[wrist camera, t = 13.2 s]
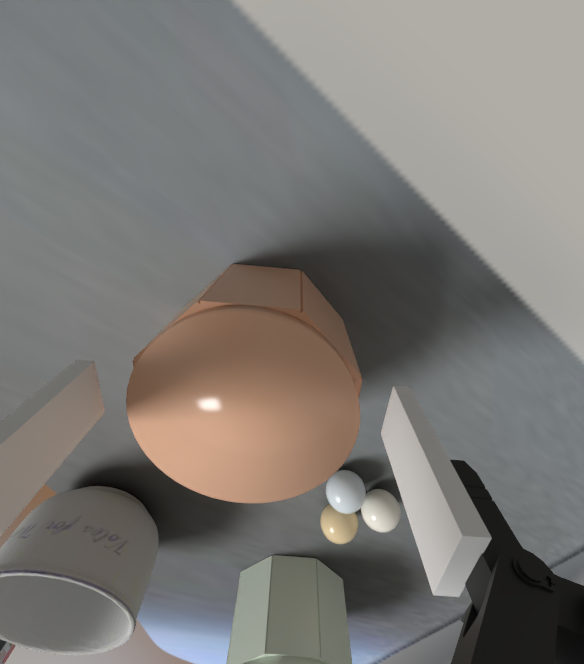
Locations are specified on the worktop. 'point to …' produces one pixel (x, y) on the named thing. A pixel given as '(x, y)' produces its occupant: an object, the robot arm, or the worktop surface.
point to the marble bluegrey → (345, 491)
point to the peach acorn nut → (248, 389)
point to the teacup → (77, 572)
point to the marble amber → (338, 525)
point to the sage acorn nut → (289, 614)
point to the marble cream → (381, 510)
